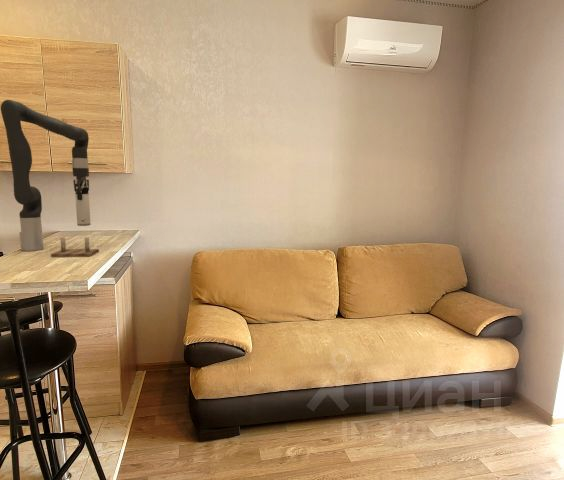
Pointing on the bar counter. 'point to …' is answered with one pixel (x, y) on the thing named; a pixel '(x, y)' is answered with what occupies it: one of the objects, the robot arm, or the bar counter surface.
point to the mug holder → (75, 250)
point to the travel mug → (83, 209)
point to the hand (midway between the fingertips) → (82, 199)
